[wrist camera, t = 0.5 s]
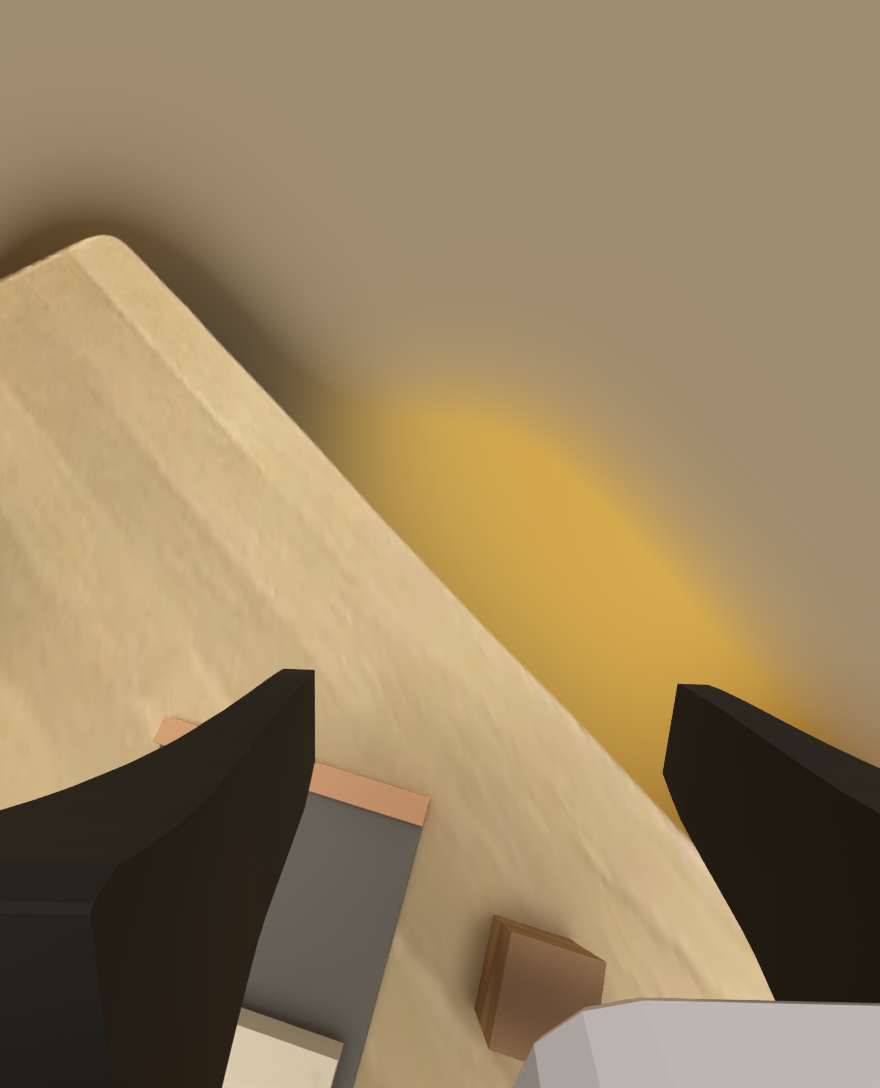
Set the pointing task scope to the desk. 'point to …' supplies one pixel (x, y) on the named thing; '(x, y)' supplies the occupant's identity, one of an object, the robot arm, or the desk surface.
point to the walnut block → (532, 985)
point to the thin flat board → (333, 906)
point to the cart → (279, 1055)
